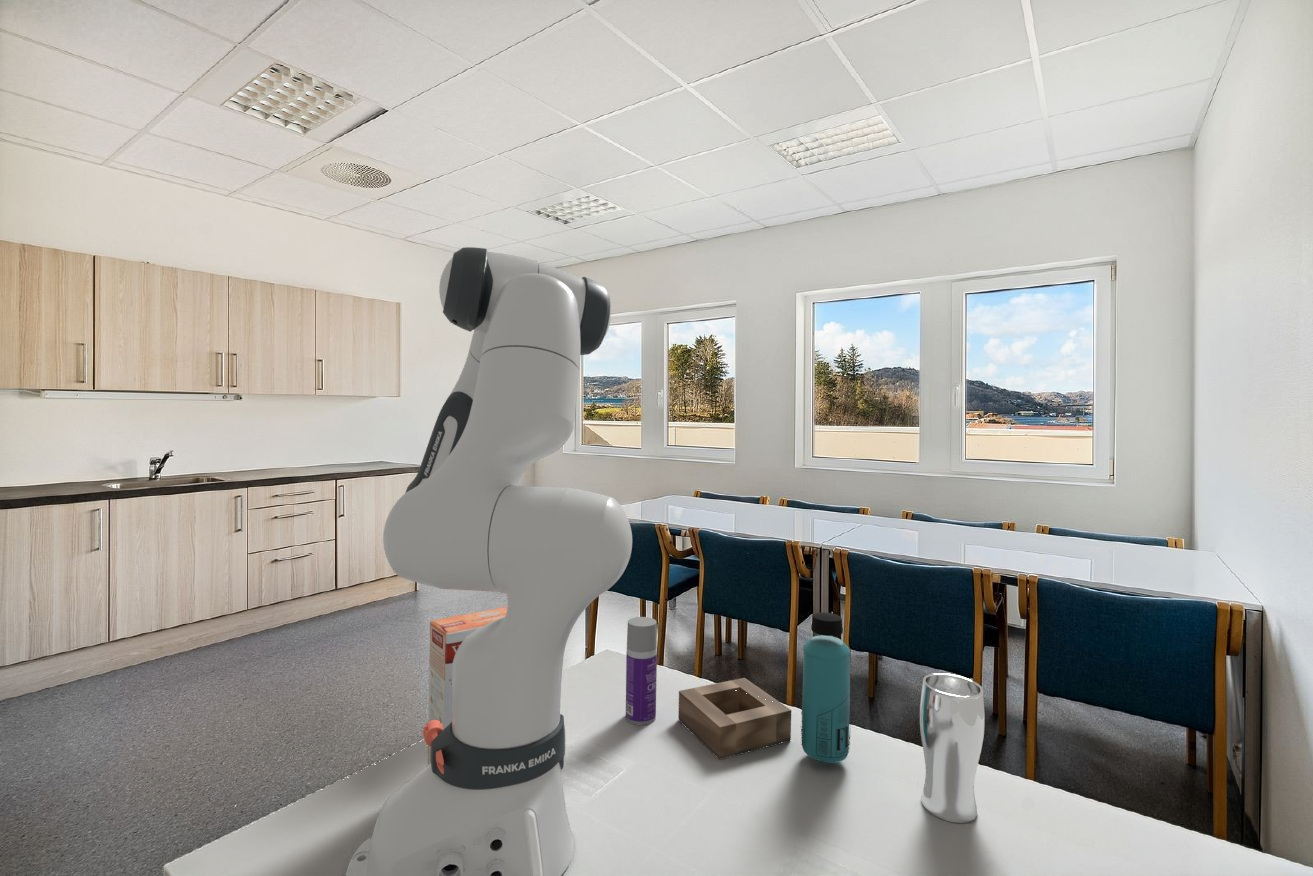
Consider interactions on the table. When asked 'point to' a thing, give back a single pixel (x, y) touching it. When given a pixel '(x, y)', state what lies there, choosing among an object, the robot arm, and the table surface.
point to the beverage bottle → (826, 691)
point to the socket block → (734, 717)
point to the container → (641, 670)
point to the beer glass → (951, 744)
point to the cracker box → (450, 658)
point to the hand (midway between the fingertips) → (585, 548)
